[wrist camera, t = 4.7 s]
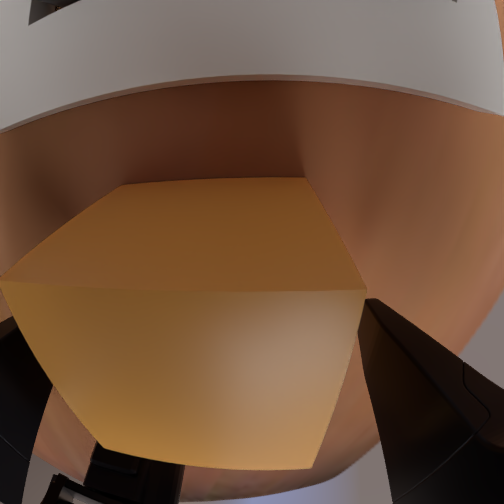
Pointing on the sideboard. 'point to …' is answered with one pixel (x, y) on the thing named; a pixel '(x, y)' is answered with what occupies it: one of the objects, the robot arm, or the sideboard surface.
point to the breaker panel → (245, 49)
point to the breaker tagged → (60, 2)
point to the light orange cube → (196, 320)
